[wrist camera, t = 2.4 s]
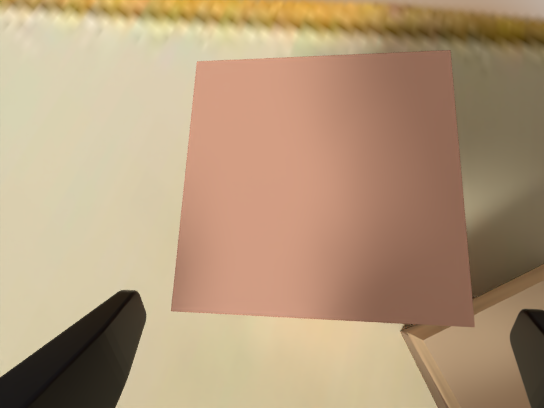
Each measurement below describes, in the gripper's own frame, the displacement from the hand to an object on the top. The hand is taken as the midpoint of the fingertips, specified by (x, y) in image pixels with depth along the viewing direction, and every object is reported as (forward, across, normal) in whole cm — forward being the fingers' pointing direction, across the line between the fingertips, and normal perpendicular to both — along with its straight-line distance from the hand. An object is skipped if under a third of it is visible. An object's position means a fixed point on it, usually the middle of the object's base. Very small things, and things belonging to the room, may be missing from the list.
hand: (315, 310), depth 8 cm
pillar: (+9, 0, +5) cm, 10 cm away
